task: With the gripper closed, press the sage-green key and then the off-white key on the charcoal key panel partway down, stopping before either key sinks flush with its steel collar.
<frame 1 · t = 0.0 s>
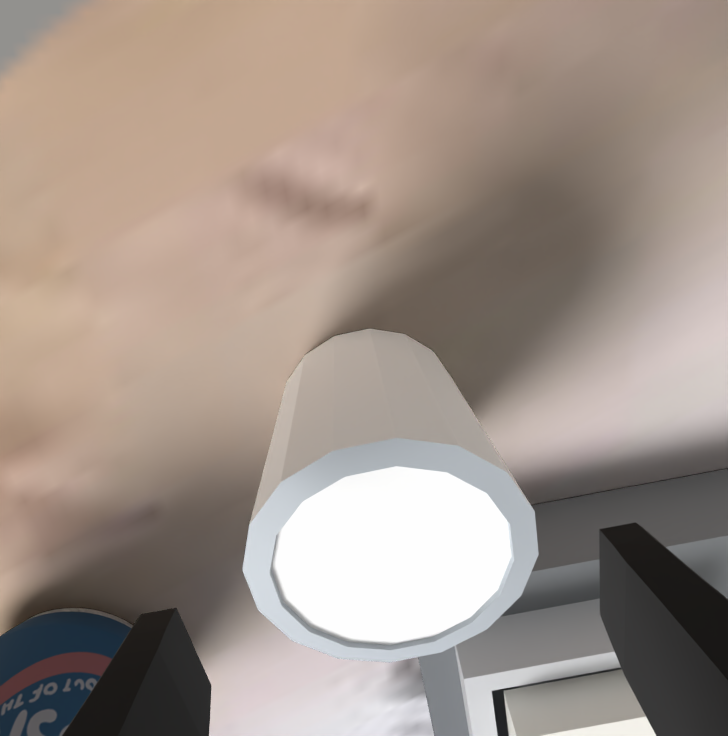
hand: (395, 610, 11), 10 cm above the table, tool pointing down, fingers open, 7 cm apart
key panel: (686, 583, 26), on the table
soda can: (83, 653, 26), on the table
white cylinder: (368, 404, 21), on the table
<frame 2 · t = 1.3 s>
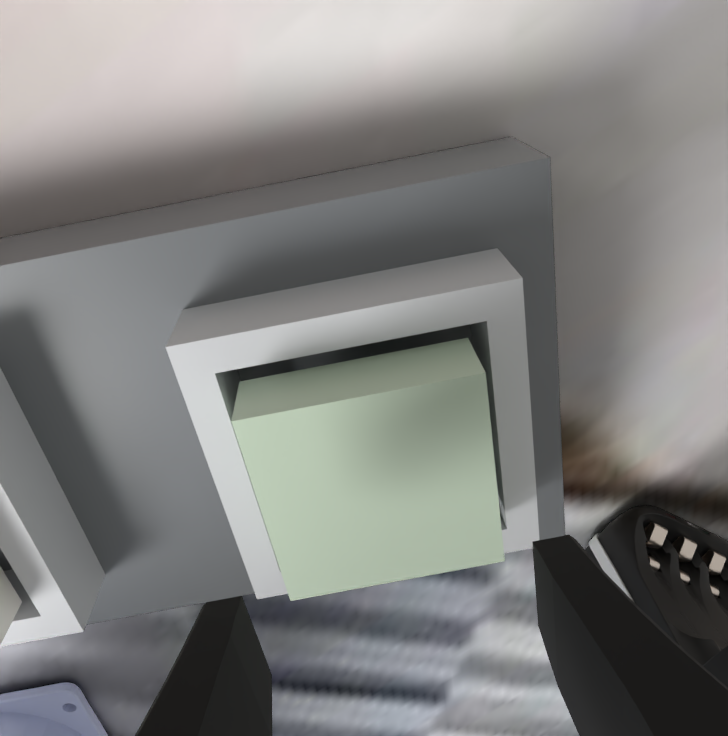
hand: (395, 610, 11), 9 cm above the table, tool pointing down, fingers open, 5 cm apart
sage key: (376, 474, 14), point 6 cm above the table, slide at 0.0 cm
battery charger: (671, 540, 24), on the table
key panel: (163, 397, 19), on the table
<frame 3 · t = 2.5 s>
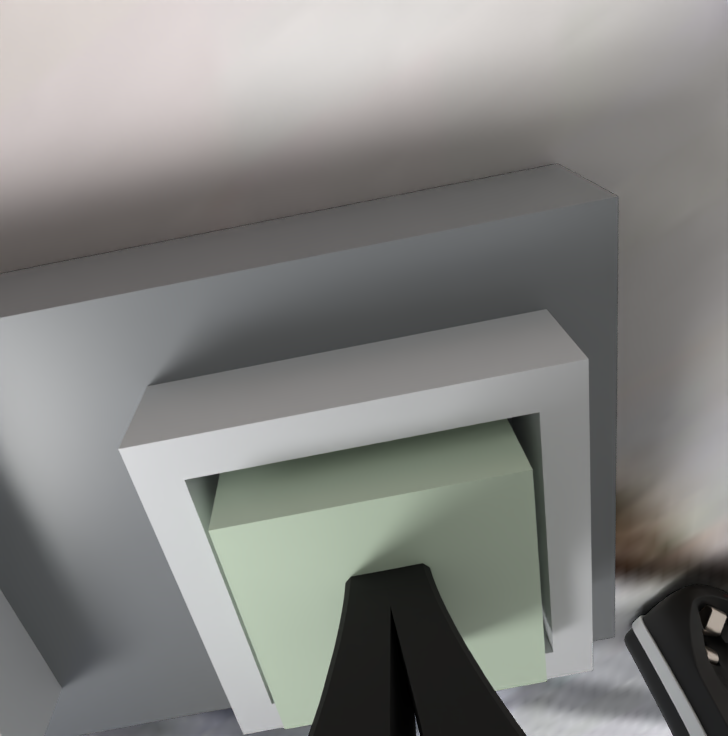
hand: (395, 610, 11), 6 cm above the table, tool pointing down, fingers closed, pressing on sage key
sage key: (389, 578, 12), point 5 cm above the table, slide at 0.5 cm, touching gripper
battery charger: (725, 619, 21), on the table
key panel: (133, 470, 16), on the table
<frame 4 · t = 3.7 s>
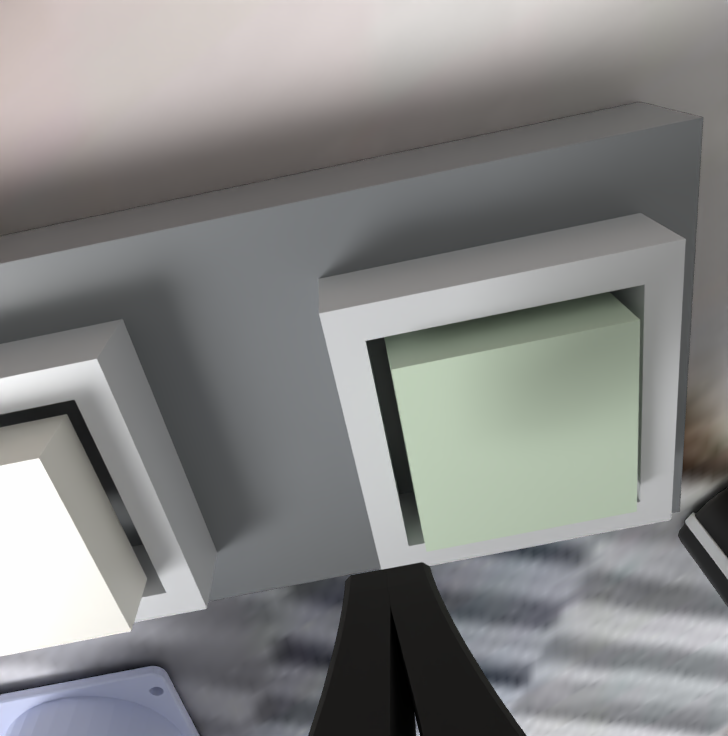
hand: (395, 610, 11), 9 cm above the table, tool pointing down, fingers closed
sage key: (513, 425, 15), point 5 cm above the table, slide at 0.7 cm
key panel: (269, 374, 19), on the table
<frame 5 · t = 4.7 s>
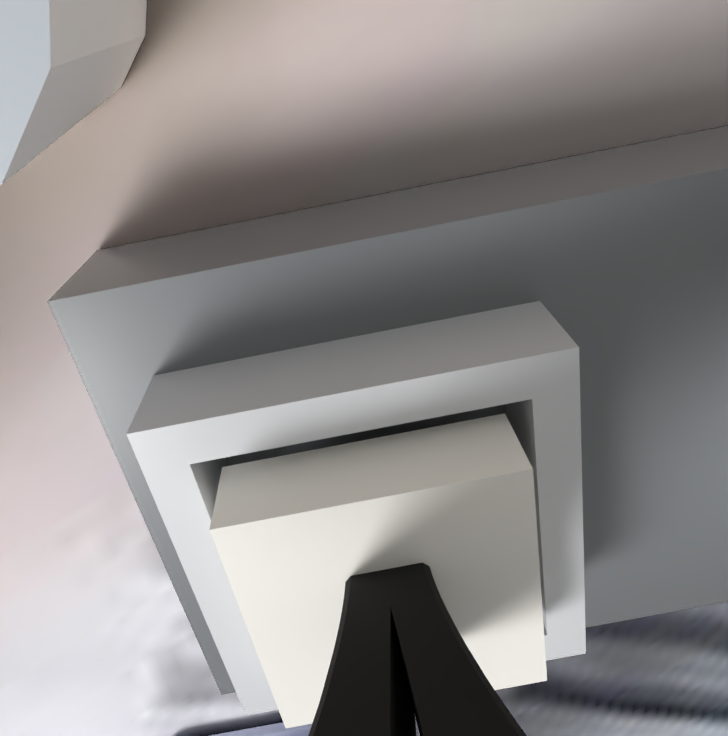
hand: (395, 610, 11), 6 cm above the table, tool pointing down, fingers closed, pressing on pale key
pale key: (390, 577, 12), point 5 cm above the table, slide at 0.1 cm, touching gripper
key panel: (599, 372, 16), on the table
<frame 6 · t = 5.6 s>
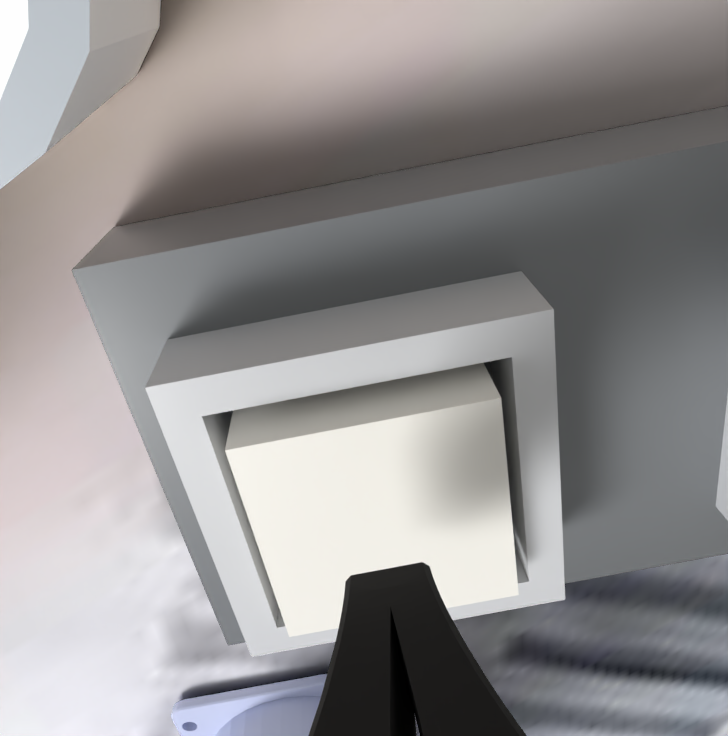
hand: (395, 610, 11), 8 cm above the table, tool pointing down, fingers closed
pale key: (381, 502, 13), point 5 cm above the table, slide at 0.7 cm
key panel: (581, 345, 18), on the table
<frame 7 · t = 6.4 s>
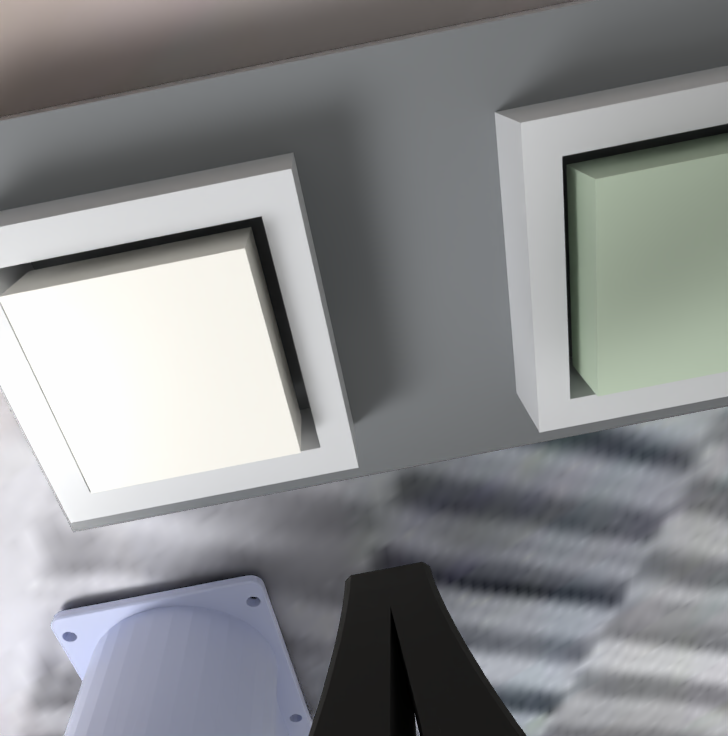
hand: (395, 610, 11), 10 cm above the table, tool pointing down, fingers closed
pale key: (168, 364, 15), point 5 cm above the table, slide at 0.7 cm
sage key: (692, 262, 14), point 5 cm above the table, slide at 0.7 cm
key panel: (401, 250, 19), on the table
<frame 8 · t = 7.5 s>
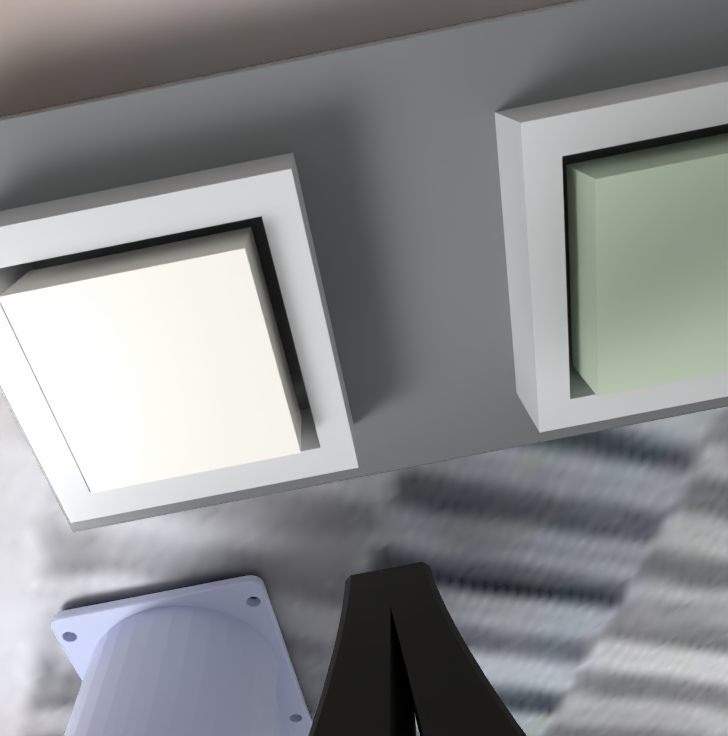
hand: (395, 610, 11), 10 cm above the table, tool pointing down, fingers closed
pale key: (168, 364, 15), point 5 cm above the table, slide at 0.7 cm
sage key: (692, 262, 14), point 5 cm above the table, slide at 0.7 cm
key panel: (401, 250, 19), on the table
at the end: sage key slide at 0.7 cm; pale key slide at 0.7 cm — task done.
